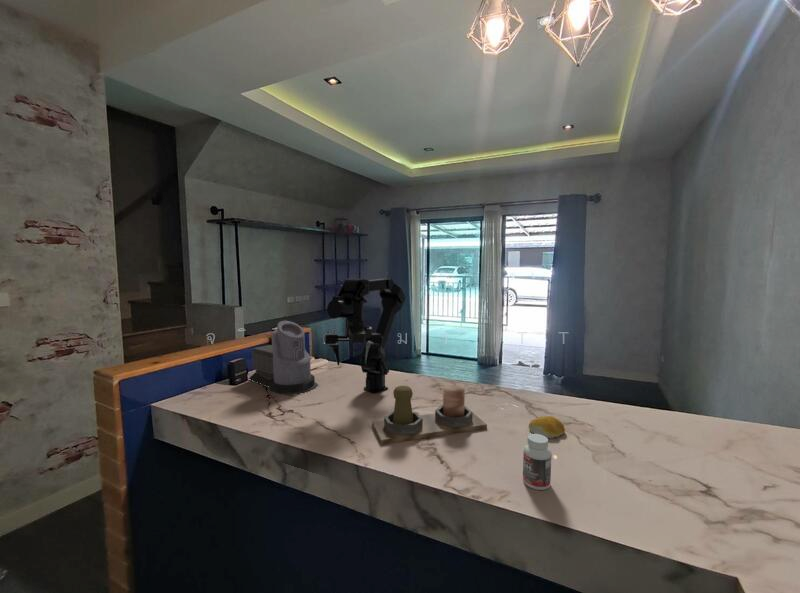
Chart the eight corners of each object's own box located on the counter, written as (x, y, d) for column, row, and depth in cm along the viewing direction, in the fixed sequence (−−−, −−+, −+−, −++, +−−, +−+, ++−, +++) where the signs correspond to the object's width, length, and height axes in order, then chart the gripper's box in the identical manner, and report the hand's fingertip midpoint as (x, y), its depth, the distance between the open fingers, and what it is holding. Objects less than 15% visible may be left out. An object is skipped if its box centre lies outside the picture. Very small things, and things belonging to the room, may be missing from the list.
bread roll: (569, 433, 97) (570, 419, 97) (549, 442, 92) (550, 427, 92) (542, 422, 104) (543, 408, 103) (522, 430, 99) (523, 416, 99)
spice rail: (381, 444, 91) (381, 405, 90) (372, 425, 101) (371, 390, 100) (486, 428, 99) (487, 392, 98) (468, 412, 110) (468, 380, 109)
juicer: (326, 385, 135) (324, 321, 133) (290, 398, 122) (288, 327, 120) (277, 371, 153) (275, 314, 150) (242, 381, 140) (239, 319, 138)
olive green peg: (406, 419, 102) (406, 382, 101) (418, 427, 97) (418, 388, 96) (388, 424, 99) (387, 385, 98) (399, 433, 94) (398, 392, 93)
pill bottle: (518, 483, 74) (519, 438, 74) (528, 472, 79) (529, 429, 78) (545, 494, 71) (547, 447, 70) (554, 482, 75) (555, 437, 74)
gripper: (328, 318, 107) (326, 371, 107) (388, 319, 113) (386, 369, 113) (324, 315, 117) (322, 363, 118) (379, 316, 123) (377, 362, 123)
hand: (352, 364), depth 118 cm, fingers open, 9 cm apart
